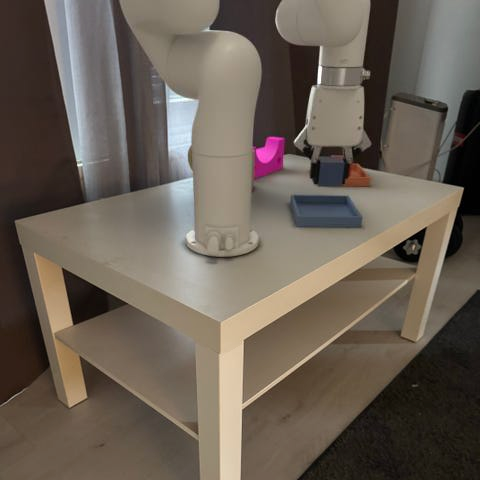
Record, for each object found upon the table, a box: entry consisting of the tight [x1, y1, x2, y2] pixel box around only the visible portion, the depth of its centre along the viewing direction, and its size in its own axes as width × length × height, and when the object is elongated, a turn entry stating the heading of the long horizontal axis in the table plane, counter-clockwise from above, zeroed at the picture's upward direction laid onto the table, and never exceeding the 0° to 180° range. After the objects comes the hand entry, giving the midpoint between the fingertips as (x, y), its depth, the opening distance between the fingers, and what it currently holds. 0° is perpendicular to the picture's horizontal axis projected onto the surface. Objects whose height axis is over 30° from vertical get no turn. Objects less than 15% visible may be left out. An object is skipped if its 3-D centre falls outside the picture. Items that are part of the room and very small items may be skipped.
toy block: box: [252, 136, 285, 180], centre depth 122 cm, size 15×6×8 cm, turn 144°
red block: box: [330, 154, 353, 177], centre depth 119 cm, size 4×4×4 cm
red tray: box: [341, 163, 371, 187], centre depth 120 cm, size 13×12×2 cm
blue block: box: [317, 156, 345, 188], centre depth 93 cm, size 4×4×4 cm
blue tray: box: [289, 194, 363, 228], centre depth 96 cm, size 13×12×2 cm
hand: (328, 181), depth 94 cm, fingers closed on blue block, 4 cm apart
